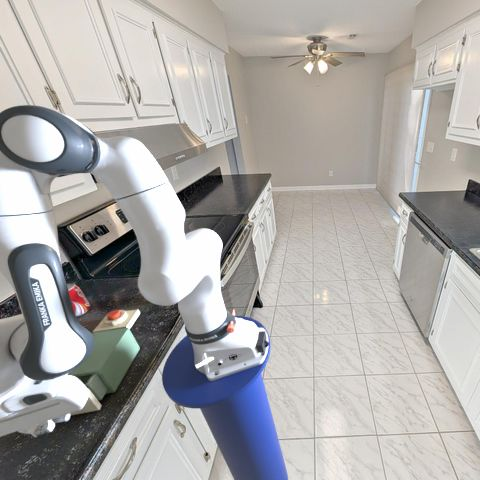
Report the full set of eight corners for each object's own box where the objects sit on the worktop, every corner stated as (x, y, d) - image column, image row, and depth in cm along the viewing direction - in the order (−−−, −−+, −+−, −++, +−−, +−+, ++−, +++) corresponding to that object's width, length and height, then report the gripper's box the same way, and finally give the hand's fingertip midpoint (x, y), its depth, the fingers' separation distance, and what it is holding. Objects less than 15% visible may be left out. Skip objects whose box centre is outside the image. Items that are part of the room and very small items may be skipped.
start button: (122, 312, 94) (120, 309, 93) (117, 319, 90) (115, 316, 90) (112, 314, 93) (110, 310, 92) (106, 321, 90) (104, 317, 89)
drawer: (88, 429, 61) (72, 411, 58) (35, 439, 60) (15, 421, 56) (126, 363, 77) (116, 346, 73) (85, 370, 76) (72, 353, 72)
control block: (140, 313, 98) (136, 305, 96) (128, 331, 90) (124, 322, 88) (110, 317, 97) (105, 309, 95) (95, 336, 89) (90, 327, 87)
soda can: (89, 313, 100) (74, 289, 94) (66, 321, 97) (49, 296, 91) (93, 303, 105) (79, 280, 100) (71, 310, 102) (55, 286, 97)
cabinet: (114, 392, 70) (99, 370, 66) (64, 401, 68) (45, 379, 64) (140, 348, 83) (128, 327, 79) (98, 355, 82) (84, 334, 77)
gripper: (-81, 432, 45) (-27, 469, 51) (60, 389, 51) (93, 427, 57) (-50, 399, 50) (-4, 436, 56) (75, 363, 56) (103, 400, 62)
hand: (45, 431), depth 57 cm, fingers closed
